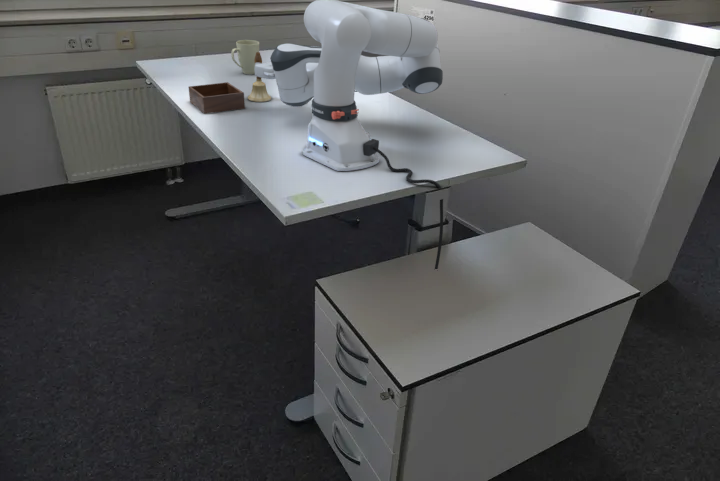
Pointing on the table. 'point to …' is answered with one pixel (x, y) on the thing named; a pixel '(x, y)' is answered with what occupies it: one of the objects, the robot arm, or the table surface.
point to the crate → (216, 97)
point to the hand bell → (259, 86)
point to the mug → (246, 55)
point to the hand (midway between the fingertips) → (267, 62)
